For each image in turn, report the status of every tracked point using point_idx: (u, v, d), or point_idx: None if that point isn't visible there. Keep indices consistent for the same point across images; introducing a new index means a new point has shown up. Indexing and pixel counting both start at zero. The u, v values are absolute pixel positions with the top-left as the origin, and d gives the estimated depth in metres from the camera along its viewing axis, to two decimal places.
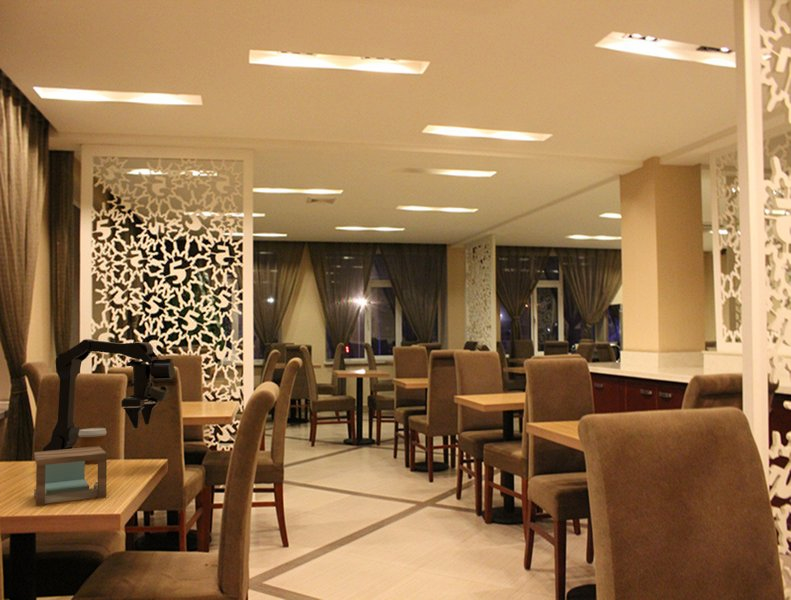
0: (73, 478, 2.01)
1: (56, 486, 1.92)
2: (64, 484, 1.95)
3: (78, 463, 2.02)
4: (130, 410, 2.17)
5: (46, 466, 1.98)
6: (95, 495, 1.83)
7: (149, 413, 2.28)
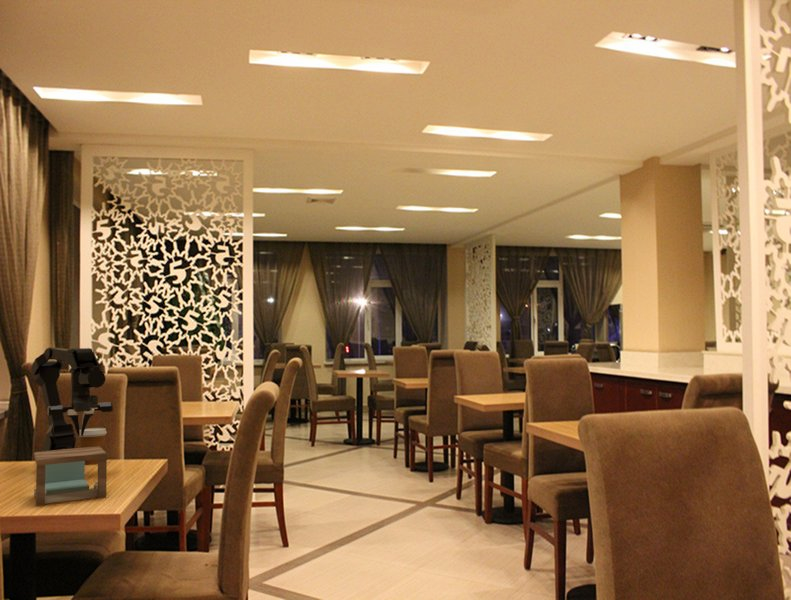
0: (73, 478, 2.01)
1: (56, 486, 1.92)
2: (64, 484, 1.95)
3: (78, 463, 2.02)
4: None
5: (46, 466, 1.98)
6: (95, 495, 1.83)
7: (83, 424, 2.14)
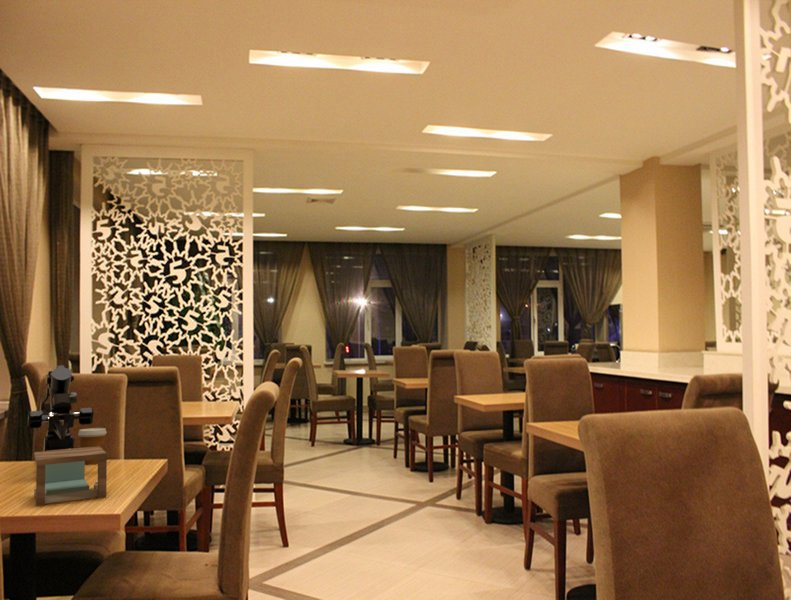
0: (73, 478, 2.01)
1: (56, 486, 1.92)
2: (64, 484, 1.95)
3: (78, 463, 2.02)
4: (55, 426, 2.13)
5: (46, 466, 1.98)
6: (95, 495, 1.83)
7: (63, 428, 2.11)
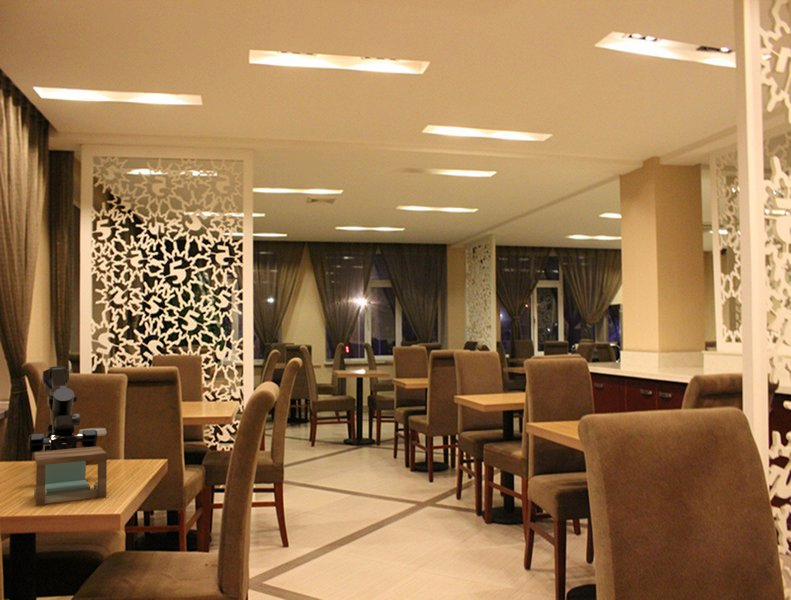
0: (74, 479, 1.99)
1: (57, 487, 1.90)
2: (65, 485, 1.93)
3: (79, 464, 2.00)
4: None
5: (47, 466, 1.96)
6: (95, 495, 1.83)
7: None
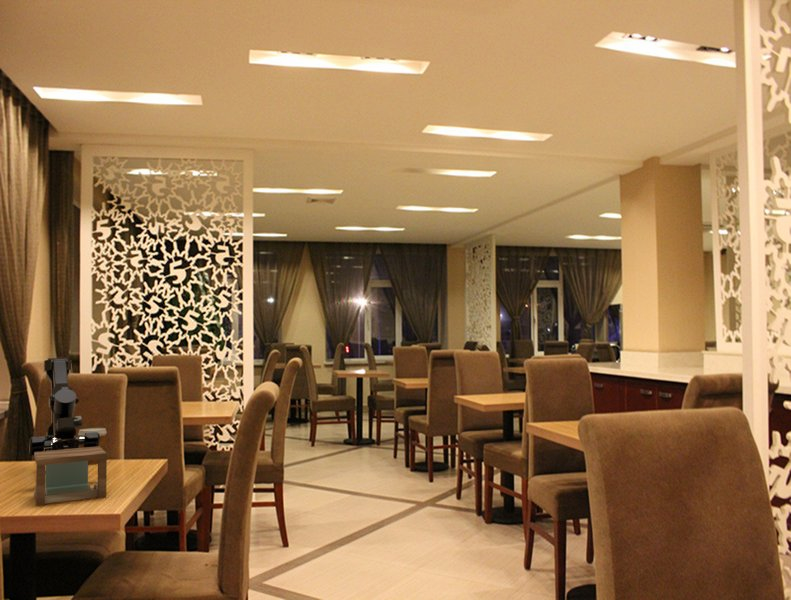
0: (76, 482, 1.94)
1: (58, 491, 1.85)
2: (67, 488, 1.88)
3: (81, 467, 1.95)
4: None
5: (48, 470, 1.91)
6: (95, 495, 1.83)
7: None
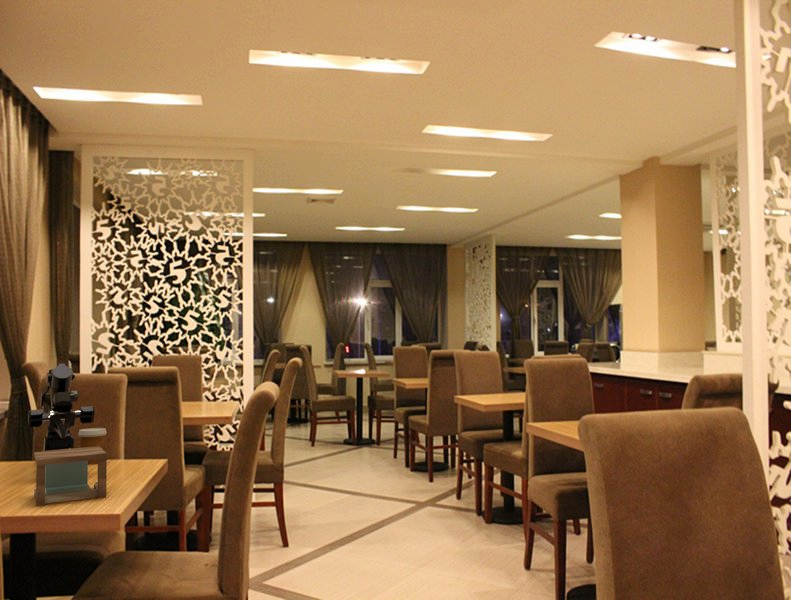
0: (76, 483, 1.94)
1: (58, 491, 1.85)
2: (66, 489, 1.88)
3: (81, 467, 1.95)
4: (55, 425, 2.11)
5: (48, 470, 1.91)
6: (95, 495, 1.83)
7: (64, 426, 2.09)
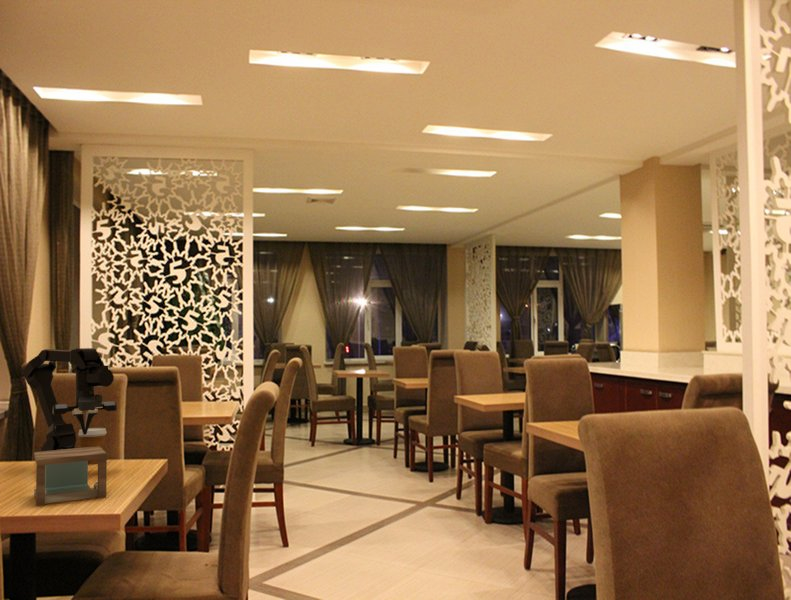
0: (76, 483, 1.94)
1: (58, 491, 1.85)
2: (66, 489, 1.88)
3: (81, 467, 1.95)
4: None
5: (48, 470, 1.91)
6: (95, 495, 1.83)
7: None
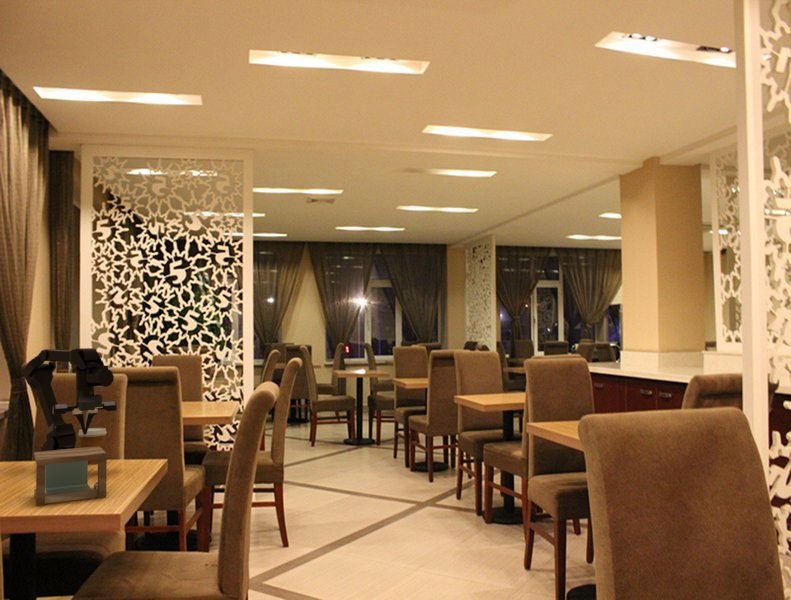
0: (76, 483, 1.94)
1: (58, 491, 1.85)
2: (66, 489, 1.88)
3: (81, 467, 1.95)
4: None
5: (48, 470, 1.91)
6: (95, 495, 1.83)
7: None
